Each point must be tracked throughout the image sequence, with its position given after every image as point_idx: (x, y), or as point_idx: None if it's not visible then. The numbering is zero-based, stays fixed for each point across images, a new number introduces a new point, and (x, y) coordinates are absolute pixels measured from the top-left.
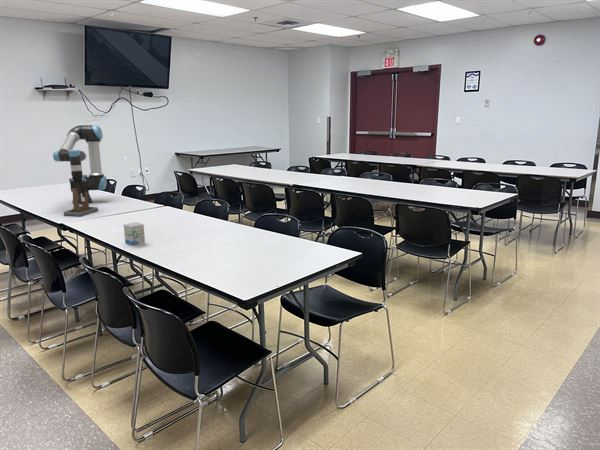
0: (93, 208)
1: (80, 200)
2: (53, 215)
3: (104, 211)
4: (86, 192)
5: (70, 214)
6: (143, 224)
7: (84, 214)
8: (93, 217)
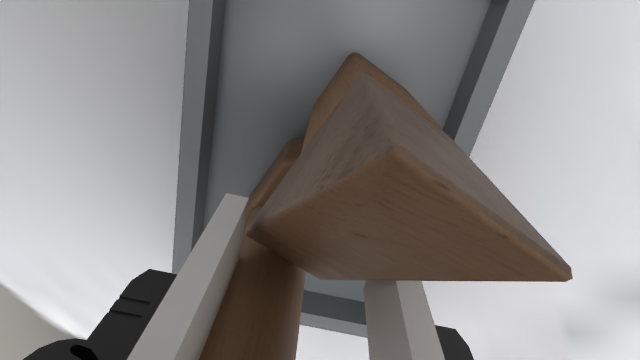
0: (488, 92)
1: (327, 274)
2: (61, 248)
3: (622, 14)
4: (517, 263)
5: None
6: None
7: None
8: (534, 331)
